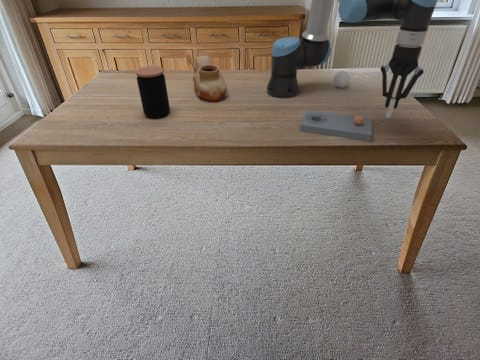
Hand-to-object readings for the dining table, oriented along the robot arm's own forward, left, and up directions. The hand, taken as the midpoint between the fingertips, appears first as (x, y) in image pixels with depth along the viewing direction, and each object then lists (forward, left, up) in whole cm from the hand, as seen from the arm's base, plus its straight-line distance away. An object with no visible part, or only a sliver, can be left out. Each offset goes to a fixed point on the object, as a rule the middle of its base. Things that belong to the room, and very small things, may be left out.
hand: (387, 115), depth 108 cm
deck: (-17, 0, -7) cm, 18 cm away
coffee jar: (-88, -11, -8) cm, 89 cm away
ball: (-9, 0, -3) cm, 10 cm away
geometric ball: (-19, +45, -8) cm, 49 cm away
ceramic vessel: (-78, +18, -8) cm, 80 cm away
